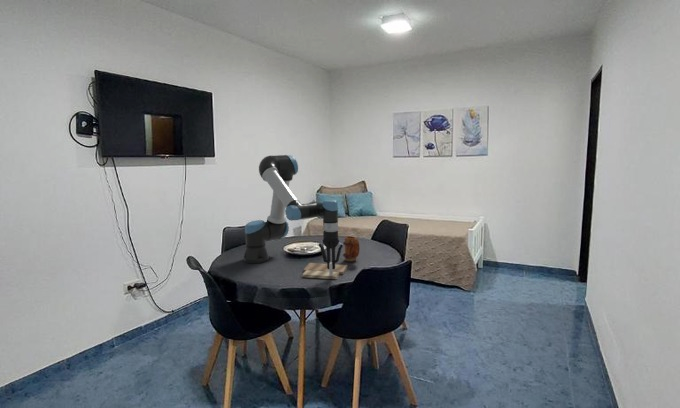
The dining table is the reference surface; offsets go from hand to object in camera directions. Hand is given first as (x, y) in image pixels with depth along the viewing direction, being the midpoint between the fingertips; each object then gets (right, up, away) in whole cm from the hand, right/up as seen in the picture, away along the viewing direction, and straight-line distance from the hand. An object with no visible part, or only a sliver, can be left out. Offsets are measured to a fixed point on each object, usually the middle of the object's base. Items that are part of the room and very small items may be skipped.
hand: (331, 275), depth 192 cm
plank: (-5, -1, +4) cm, 7 cm away
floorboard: (-3, 0, +14) cm, 14 cm away
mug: (+12, +2, +28) cm, 30 cm away
